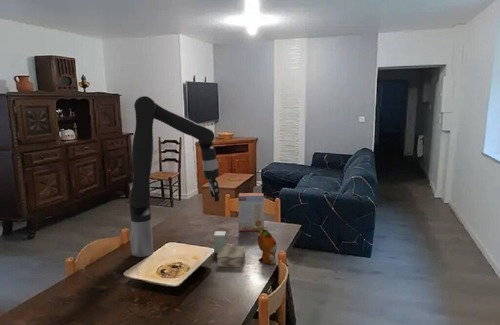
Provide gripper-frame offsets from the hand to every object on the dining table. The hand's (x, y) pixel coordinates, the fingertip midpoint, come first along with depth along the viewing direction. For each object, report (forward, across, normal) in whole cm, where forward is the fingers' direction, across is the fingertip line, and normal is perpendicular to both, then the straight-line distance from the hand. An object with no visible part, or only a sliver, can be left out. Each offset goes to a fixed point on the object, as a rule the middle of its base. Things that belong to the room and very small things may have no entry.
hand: (215, 198), depth 185 cm
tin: (+23, +11, -3) cm, 26 cm away
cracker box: (+26, -12, +20) cm, 35 cm away
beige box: (+24, +24, -1) cm, 33 cm away
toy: (+25, +29, +15) cm, 41 cm away
